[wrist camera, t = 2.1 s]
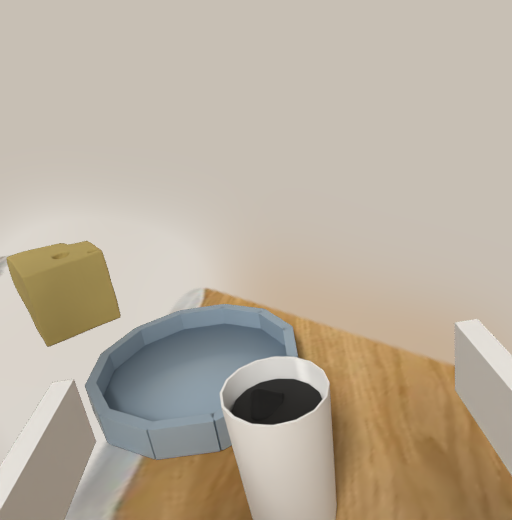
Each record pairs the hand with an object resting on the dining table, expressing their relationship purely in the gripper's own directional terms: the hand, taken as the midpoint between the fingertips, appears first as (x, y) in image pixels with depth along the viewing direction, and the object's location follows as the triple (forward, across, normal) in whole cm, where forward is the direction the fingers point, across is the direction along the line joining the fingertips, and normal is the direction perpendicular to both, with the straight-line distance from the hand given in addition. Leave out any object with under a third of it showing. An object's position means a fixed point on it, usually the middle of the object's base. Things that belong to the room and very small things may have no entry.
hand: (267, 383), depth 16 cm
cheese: (+44, -27, -18) cm, 55 cm away
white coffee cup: (+10, 0, -18) cm, 21 cm away
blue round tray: (+26, -8, -18) cm, 33 cm away
